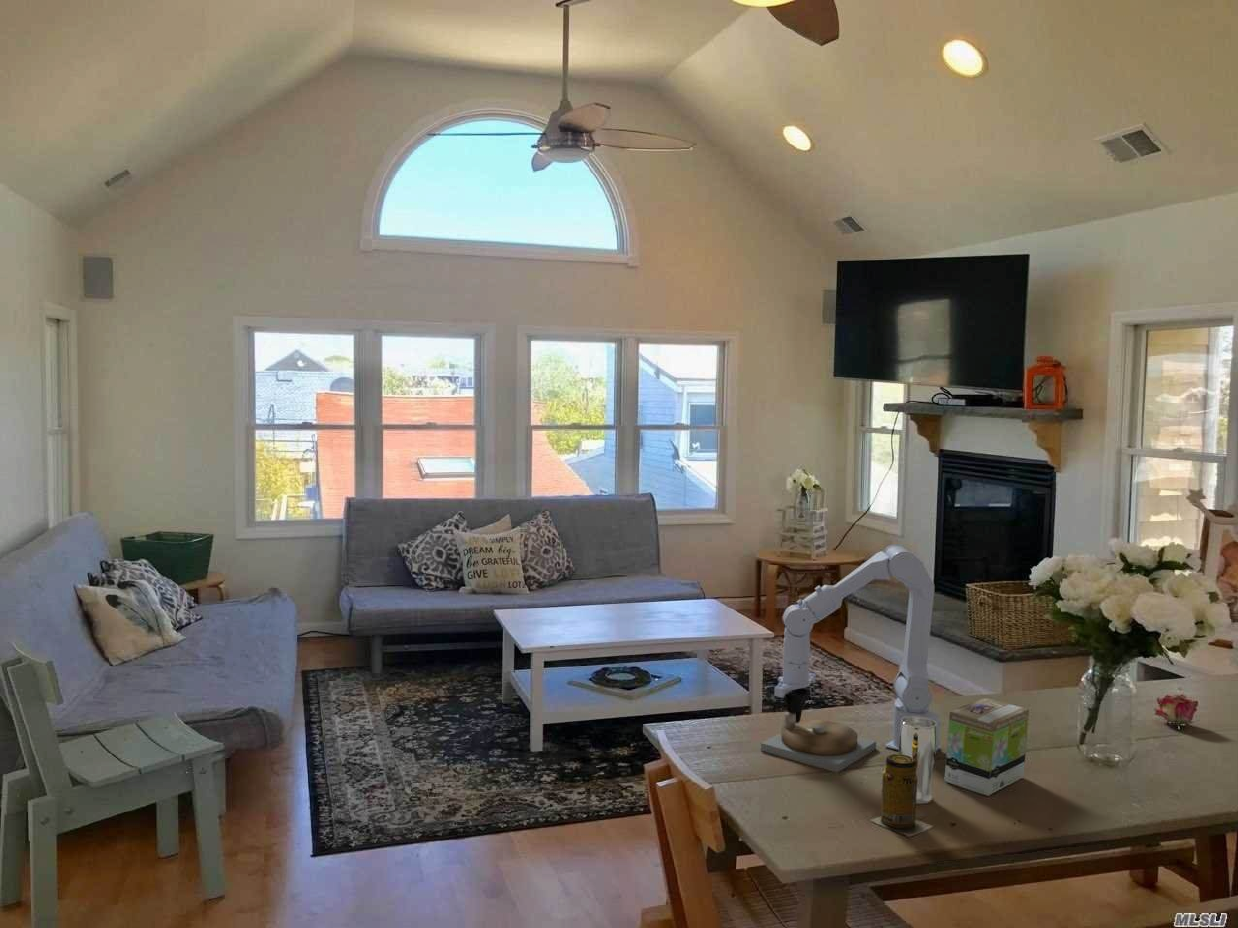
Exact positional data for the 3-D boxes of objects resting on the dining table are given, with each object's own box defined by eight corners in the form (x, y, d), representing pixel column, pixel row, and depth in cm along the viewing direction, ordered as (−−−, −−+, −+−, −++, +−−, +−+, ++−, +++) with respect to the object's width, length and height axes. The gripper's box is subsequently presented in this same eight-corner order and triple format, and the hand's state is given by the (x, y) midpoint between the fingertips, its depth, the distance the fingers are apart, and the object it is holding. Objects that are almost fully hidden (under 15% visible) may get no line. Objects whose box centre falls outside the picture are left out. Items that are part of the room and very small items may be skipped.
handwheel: (863, 735, 226) (864, 713, 226) (849, 759, 211) (850, 736, 211) (791, 723, 232) (792, 702, 232) (773, 746, 218) (773, 723, 217)
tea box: (990, 798, 199) (995, 723, 197) (942, 782, 206) (946, 710, 205) (1025, 778, 209) (1030, 707, 208) (979, 763, 216) (983, 695, 215)
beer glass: (928, 808, 193) (932, 730, 192) (891, 799, 197) (895, 722, 196) (938, 795, 199) (942, 720, 198) (902, 787, 203) (906, 713, 202)
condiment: (893, 811, 192) (896, 748, 191) (933, 827, 185) (936, 762, 184) (869, 821, 187) (872, 757, 186) (909, 838, 181) (912, 772, 179)
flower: (1208, 728, 236) (1205, 695, 240) (1170, 719, 236) (1167, 686, 240) (1183, 739, 245) (1181, 707, 249) (1146, 730, 245) (1144, 698, 248)
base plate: (875, 748, 223) (876, 741, 223) (837, 772, 209) (837, 764, 209) (802, 729, 235) (802, 721, 235) (760, 750, 221) (761, 742, 221)
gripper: (796, 650, 233) (794, 709, 234) (762, 664, 221) (761, 725, 223) (824, 656, 228) (822, 716, 229) (791, 670, 217) (789, 733, 218)
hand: (794, 721), depth 226 cm, fingers closed
